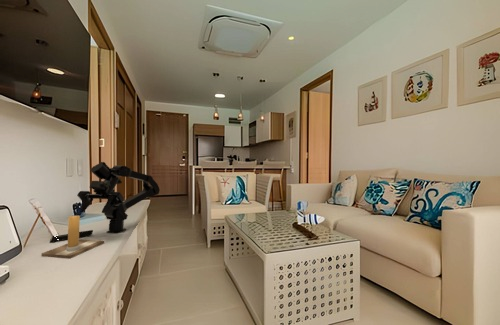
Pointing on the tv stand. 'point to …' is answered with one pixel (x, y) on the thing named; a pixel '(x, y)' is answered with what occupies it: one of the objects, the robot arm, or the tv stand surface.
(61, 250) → the subfloor panel
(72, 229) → the orange rounded post
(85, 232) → the electric trimmer
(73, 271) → the tv stand surface
